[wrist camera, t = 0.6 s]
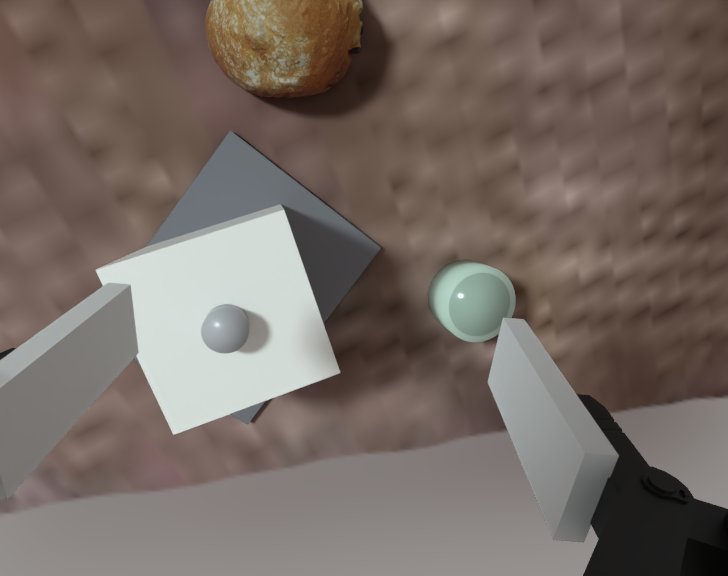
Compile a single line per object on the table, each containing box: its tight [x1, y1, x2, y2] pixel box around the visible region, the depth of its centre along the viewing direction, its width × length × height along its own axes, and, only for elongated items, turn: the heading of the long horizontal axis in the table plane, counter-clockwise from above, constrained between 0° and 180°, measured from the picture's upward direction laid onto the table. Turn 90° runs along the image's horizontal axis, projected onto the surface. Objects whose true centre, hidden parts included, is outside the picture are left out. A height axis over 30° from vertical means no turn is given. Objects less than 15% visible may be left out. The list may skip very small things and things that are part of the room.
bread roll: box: [205, 0, 363, 98], centre depth 30 cm, size 10×10×8 cm
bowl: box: [428, 260, 516, 342], centre depth 37 cm, size 6×6×4 cm
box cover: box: [96, 204, 340, 435], centre depth 29 cm, size 10×10×11 cm
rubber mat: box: [133, 131, 381, 424], centre depth 35 cm, size 18×14×1 cm
